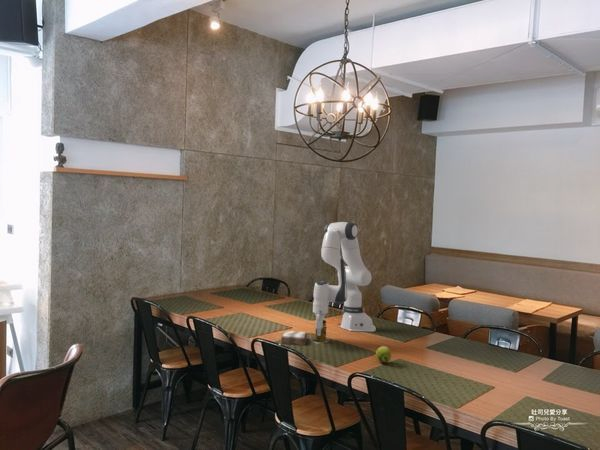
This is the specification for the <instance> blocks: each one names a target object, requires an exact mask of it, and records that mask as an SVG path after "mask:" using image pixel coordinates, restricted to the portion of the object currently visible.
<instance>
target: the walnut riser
mask: <svg viewBox="0 0 600 450" xmlns="http://www.w3.org/2000/svg"><path fill="white" fill-rule="evenodd" d="M307 335H308V333H307V332H306V331H298V330H297V331H296V330H284V332H283V334H282V335H281V342H280V343H281V344H285V345H298V346H299V345H301V346H305V345H306V342H307Z"/></svg>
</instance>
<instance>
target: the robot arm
mask: <svg viewBox="0 0 600 450" xmlns="http://www.w3.org/2000/svg"><path fill="white" fill-rule="evenodd" d="M358 233H359V228H358V226H357V224H356V223H354V222H351V221H350V222H349V221H348V222H347V221H346V222H345V221H340V222H339V221H337V222H328V223H326V224H325V225H324V227H323V239H322V244H321V249H320V252H321V253H320V256H321V259H322V260H323V261H324V262H325V263H326V264H328V265H330V266H332V267H333V268H335V269H336V271H337V279H338V285H332V284H329V281H327V280H325V279H324V280H323V279H322V280H317V281H315V283H314V286H313V294H312V295H313V302H312V313H313V314H314V316H315V330H316V329H317V335H318V336H320V335H321V329H322V327H323V320H325V317H326V315H327V314H328V313H329V302H330V303H336V304H340V305H341V304H343V306H342V319H341V323H340V328H342V329H343V330H346V331H349V332H367V333H368V332H371V333H372V332H376V330H377V327H376V326H375V325H374V323H373V319H372V317H370V316H369V315H368V314H366V308H365V307H364V306H362V299H363V298H362V297H363V294H362V291H361V290H360V289H359V286H360V287H364V286H365V287H366V286H368V285H370V283H371V281H372V278H373V277H372V274H371V271H369V269H367V267H366V266H365V264H364V262H363V259H362V257H361V251H360V244H359V239H358ZM341 254H342V256H341Z"/></svg>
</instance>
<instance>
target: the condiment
mask: <svg viewBox="0 0 600 450" xmlns="http://www.w3.org/2000/svg"><path fill="white" fill-rule="evenodd" d="M314 337H315V339H309V341H311V342H312V343H315V344H316V345H317V344H325V343H329V341H327V321H326V320H325V319H324V320H323V327H322V329H321V335H320V336H318V335H317V329H316V328H315V335H314Z"/></svg>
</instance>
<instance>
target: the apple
mask: <svg viewBox="0 0 600 450" xmlns="http://www.w3.org/2000/svg"><path fill="white" fill-rule="evenodd" d="M375 358H376V360H377V361H378V362H380V363H382V364H384V363H385V364H386V363H388V362H389V361H390V360H391V358H392V352H391V349H390V348H389V347H388V346H383V345H381V346H380V347H378V348H377V349H376V352H375Z"/></svg>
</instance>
